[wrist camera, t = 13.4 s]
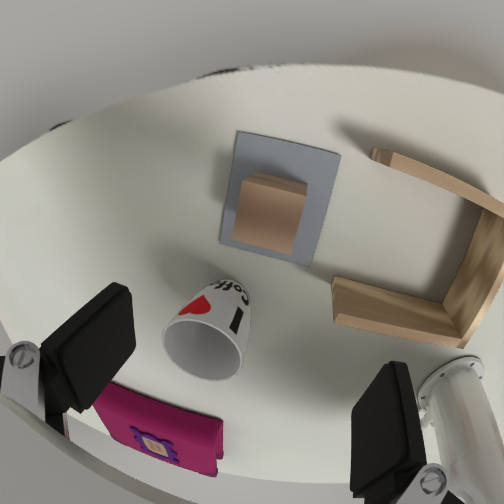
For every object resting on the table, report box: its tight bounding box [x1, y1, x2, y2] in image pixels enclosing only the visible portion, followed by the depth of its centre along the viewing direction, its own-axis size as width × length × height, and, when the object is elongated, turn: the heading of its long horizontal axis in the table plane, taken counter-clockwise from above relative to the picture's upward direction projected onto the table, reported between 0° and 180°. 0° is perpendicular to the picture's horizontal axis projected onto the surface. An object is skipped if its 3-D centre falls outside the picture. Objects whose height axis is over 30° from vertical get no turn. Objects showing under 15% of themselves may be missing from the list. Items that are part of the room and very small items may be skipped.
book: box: [92, 382, 224, 477], centre depth 49 cm, size 21×28×8 cm
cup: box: [162, 279, 251, 381], centre depth 29 cm, size 8×8×10 cm
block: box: [232, 171, 307, 255], centre depth 25 cm, size 5×5×6 cm
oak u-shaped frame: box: [331, 148, 504, 349], centre depth 23 cm, size 15×16×7 cm
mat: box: [219, 132, 341, 267], centre depth 28 cm, size 12×10×1 cm
